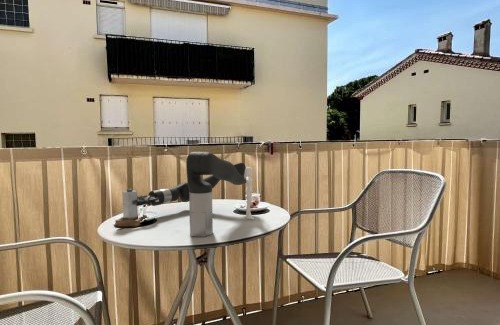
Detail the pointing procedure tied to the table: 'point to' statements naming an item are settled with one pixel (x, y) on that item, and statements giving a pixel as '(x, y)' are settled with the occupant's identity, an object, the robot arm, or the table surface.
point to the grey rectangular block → (130, 205)
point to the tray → (129, 221)
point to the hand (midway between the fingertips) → (131, 202)
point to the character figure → (248, 191)
